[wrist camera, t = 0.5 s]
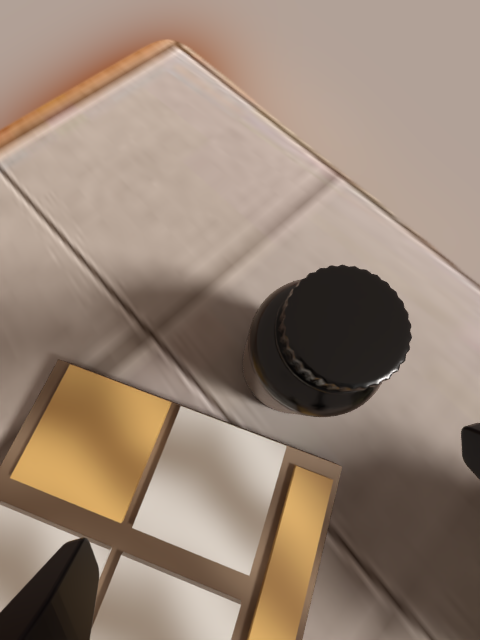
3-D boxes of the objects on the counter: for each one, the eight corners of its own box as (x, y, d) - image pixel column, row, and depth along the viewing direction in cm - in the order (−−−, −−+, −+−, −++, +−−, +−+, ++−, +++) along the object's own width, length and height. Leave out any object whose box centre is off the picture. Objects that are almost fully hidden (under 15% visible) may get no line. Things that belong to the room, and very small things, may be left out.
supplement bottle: (235, 327, 23) (244, 245, 12) (322, 317, 24) (411, 229, 12) (247, 420, 21) (272, 433, 10) (341, 407, 22) (469, 404, 10)
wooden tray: (253, 797, 16) (257, 848, 14) (-81, 645, 17) (-118, 673, 15) (334, 462, 21) (344, 467, 19) (69, 362, 22) (55, 358, 20)
